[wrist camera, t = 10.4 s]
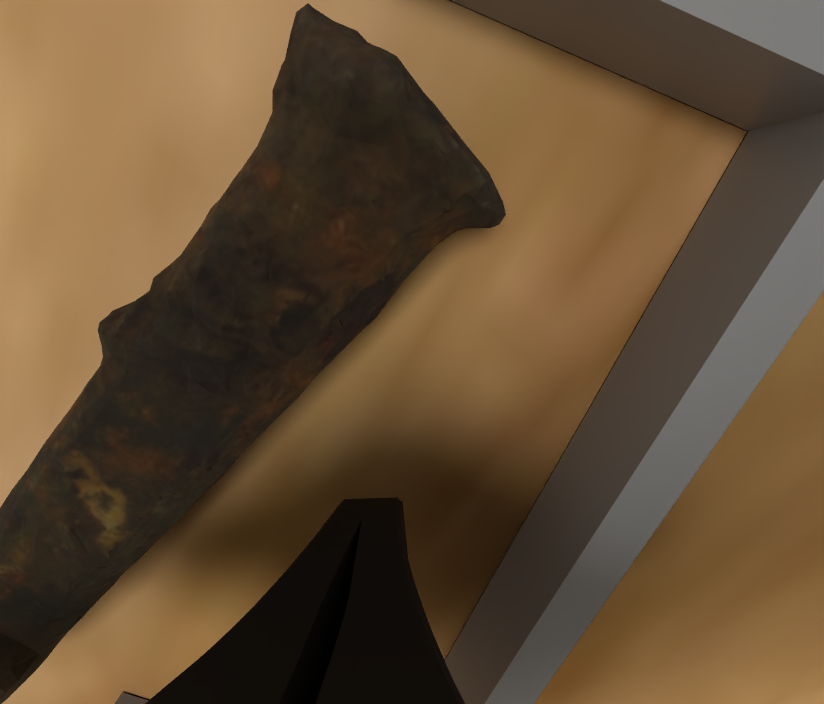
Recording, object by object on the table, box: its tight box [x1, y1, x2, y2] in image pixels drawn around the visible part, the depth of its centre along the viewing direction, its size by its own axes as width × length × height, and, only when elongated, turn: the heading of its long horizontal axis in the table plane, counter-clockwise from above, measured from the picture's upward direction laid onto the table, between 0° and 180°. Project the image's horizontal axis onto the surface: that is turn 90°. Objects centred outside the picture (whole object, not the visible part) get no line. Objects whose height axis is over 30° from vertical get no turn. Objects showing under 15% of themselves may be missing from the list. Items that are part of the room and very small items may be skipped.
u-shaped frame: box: [115, 0, 824, 704], centre depth 10 cm, size 10×23×2 cm, turn 159°
